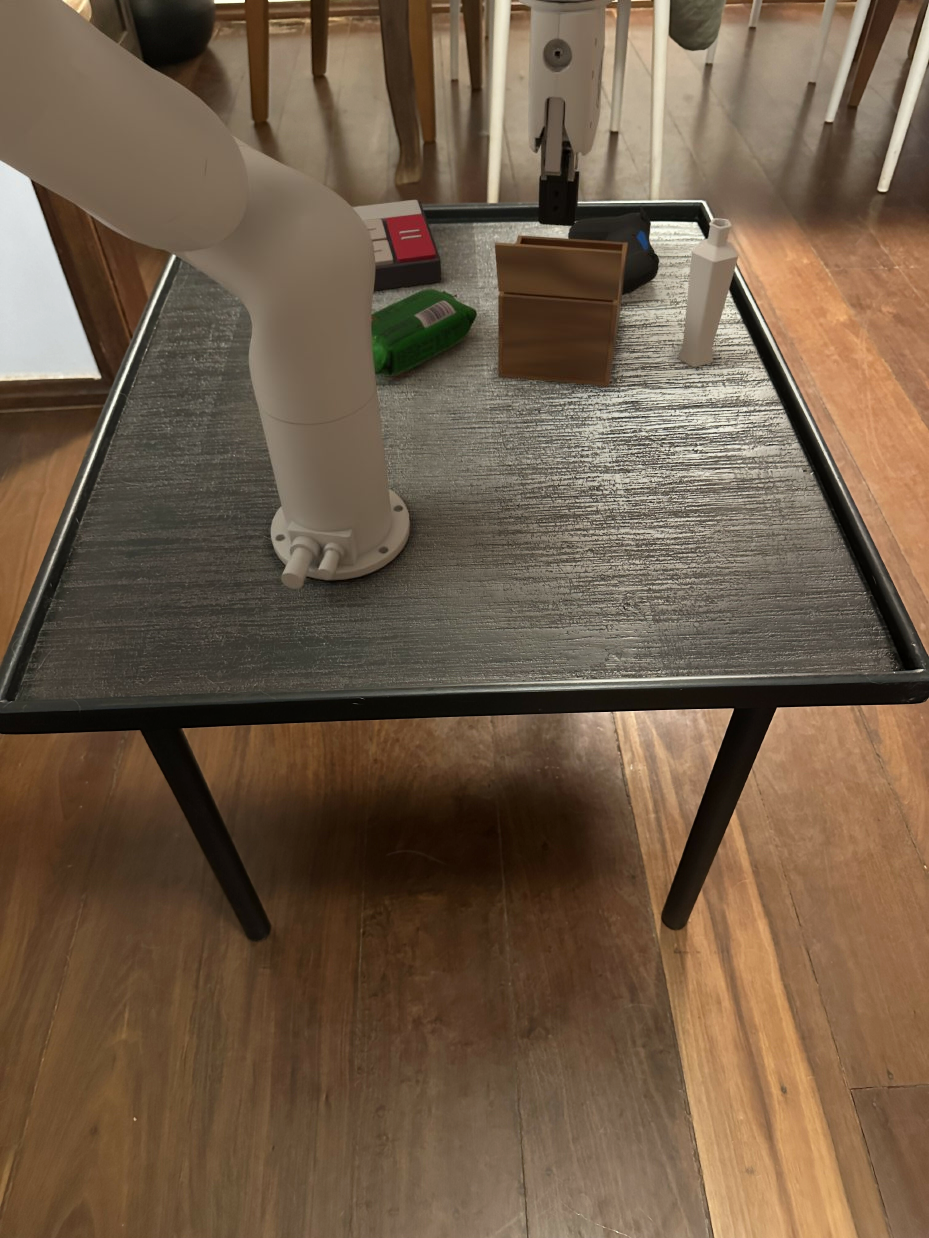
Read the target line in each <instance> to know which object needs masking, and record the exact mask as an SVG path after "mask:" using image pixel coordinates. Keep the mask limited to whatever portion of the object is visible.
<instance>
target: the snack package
mask: <svg viewBox="0 0 929 1238" xmlns="http://www.w3.org/2000/svg"><path fill="white" fill-rule="evenodd" d="M456 298H458V295H457V294H455V295H452V294H450V293H448V292H447V291H445V290H443V291H440V290H437V289H436V288H435V289H434V288H426V289H423V290H419V291H418V292H415V293H413V294H410V295H409V296H407V297H405V298H403V299H400V300H398V301H396V302H394V303H392V304H389V305H387V306H385V307H384V308H381V309H379V310H377V311H375V312H372V315H371V332H372V349H373V359H374V369H375V375H383V376H386V377H397V376H400V375H402V374H404V373H406V372H408V371H410V370H411V369H413V368H415V367H417V366H419V365H420V364H422V363H424V362H425V361H428V360H430V359H432V358H434V357H436V356H438V355H440V354H441V353H443V352H445V351H446V350H448V349H450V348H451V347H453V346H455V345H457V344H459V342H461V341H462V340H464V339H465V338H466V336H467V335H468V334H469V332H470V330H471V328H472V325H473V324H474V322H475V320H476V319H477V316H478V312H477V310H476V309H475V308H473V307H472V306H469V305H467V304H464V303H462V302H460V301H458V300H457V299H456Z"/></svg>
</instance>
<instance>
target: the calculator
mask: <svg viewBox="0 0 929 1238" xmlns="http://www.w3.org/2000/svg"><path fill="white" fill-rule="evenodd" d="M351 207H352V208H353V209H354V210H355V211H356V212H357V213H358V215H359V216H360V217H361V219H362V220H363V222H364V224H365V225H366V227H367V229H368V232H369V234H370V236H371V239H372V242H373V246H374V253H375V282H374V291H379V290H387V289H395V288H402V287H411V286H418V285H419V286H420V285H427V284H435V283H440V282H442V259H441V256H440V252H439V251H438V247H437V244H436V241H435V239H434V235H433V233H432V230H431V228H430V224H429V222H428V219H427V215H426V213H425V211H424V207H423V205H422V202H421V200H417V199H409V200H402V201H393V202H392V201H391V202H383V203H376V204H368V205H367V204H366V205H358V206H351Z"/></svg>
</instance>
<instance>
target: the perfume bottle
mask: <svg viewBox="0 0 929 1238" xmlns="http://www.w3.org/2000/svg"><path fill="white" fill-rule="evenodd" d="M708 224H709V231H708V236H707V238H704V239H701V240H700V241H699V242H698V243H697V244H696V245H695V247H694V248H693V249H692V250H691V255H690V265H689V276H688V287H687V298H686V307H685V308H686V309H685V319H684V320H685V321H684V329H683V339H682V345H681V346H682V347H681V348H680V350H679V352H678V355H677V357H676V358H677V359H678V360H680V361H682V362H683V363H685V364H687V365H688V366H690V367H693V368H697V367H700V366H705V365H708V364H711V363H713V362H714V355H713V346H714V343H715V340H716V336H717V332H718V329H719V325H720V323H721V319H722V315H723V311H724V308H725V304H726V301H727V297H728V295H729V290H730V288H731V283H732V280H733V277H734V273H735V270H736V266H737V263H738V259H739V255H740V254H739V253H738V251H737V250H736V247H735V245H734V244H733V243H732V242H731V241H729V240H728V239H729V233H730V228H731V227H732V226H733V225H732V223H731V221H730V220H729V219H728V218H717V217H714V218H713V219H712V220H711V221H710V222H709V223H708Z"/></svg>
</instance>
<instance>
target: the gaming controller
mask: <svg viewBox="0 0 929 1238" xmlns="http://www.w3.org/2000/svg"><path fill="white" fill-rule="evenodd" d="M639 210H640V211H639V212H629V213H626V214H622V215H618V216H606V217H589V218H583V219H578V220H576V221H575V224H574V225H573V226H570V227H569V230H568V234H567V239H581V240H596V241H611V242H623V243H624V242H626V243H628V247H627V256H626V265H625V274H624V283H623V292H622V296H625V295H628V294H631V293H633V292H635V291H637V290H638V289H640V288H641V287H643V286H645V285H647V284H649V283H650V282H652V281H653V280H654V279H655V278H656V276H657V275H658V272H659V268H660V267H659V265H660V257H659V255H658V253H656V252H655V248H654V247H653V246H652V245H651V242H650V241H651V240H650V235H651V225H652V222H651V220H650V217H648V216H647V212H646V211H645V210H644V208H643V206H642V205H639Z"/></svg>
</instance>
